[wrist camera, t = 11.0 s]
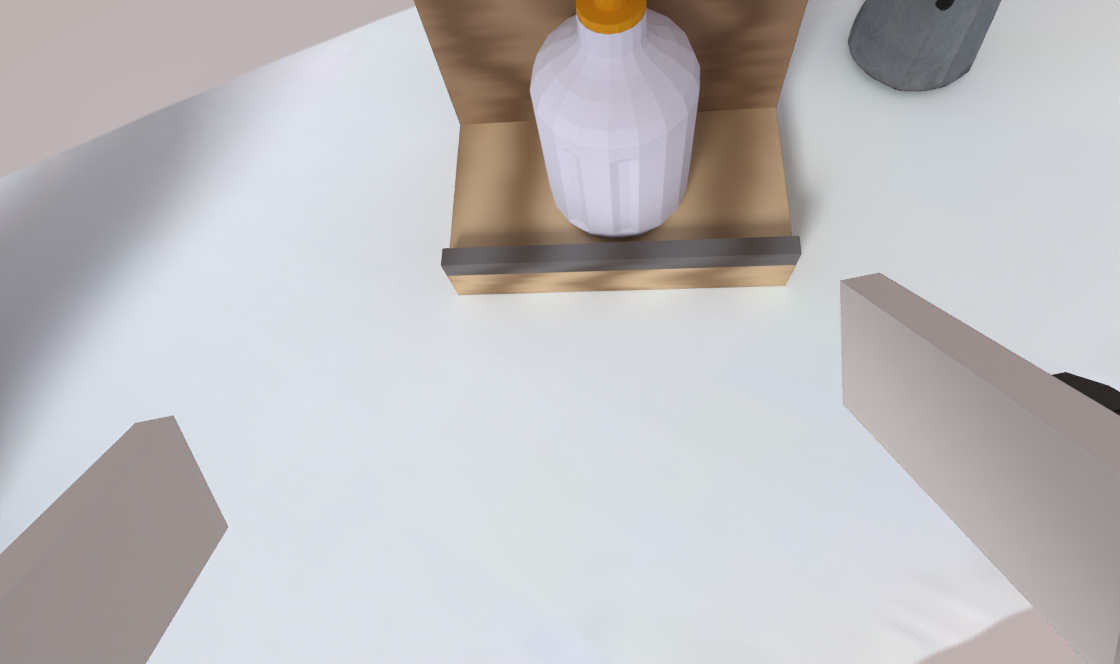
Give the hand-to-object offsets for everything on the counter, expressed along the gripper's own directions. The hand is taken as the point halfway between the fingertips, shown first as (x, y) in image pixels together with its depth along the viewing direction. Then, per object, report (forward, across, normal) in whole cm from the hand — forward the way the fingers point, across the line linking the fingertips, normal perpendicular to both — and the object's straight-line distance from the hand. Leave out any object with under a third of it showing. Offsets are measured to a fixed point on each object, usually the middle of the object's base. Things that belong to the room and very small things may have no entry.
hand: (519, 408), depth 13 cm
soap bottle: (+33, +6, -3) cm, 34 cm away
